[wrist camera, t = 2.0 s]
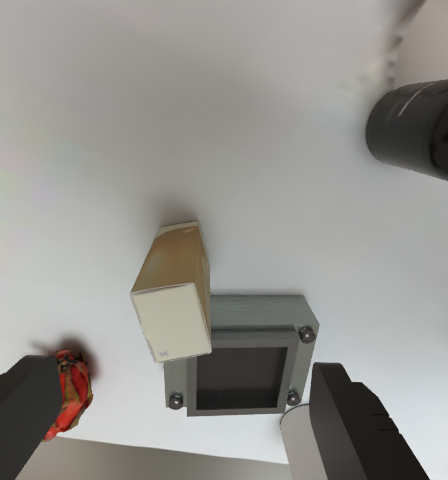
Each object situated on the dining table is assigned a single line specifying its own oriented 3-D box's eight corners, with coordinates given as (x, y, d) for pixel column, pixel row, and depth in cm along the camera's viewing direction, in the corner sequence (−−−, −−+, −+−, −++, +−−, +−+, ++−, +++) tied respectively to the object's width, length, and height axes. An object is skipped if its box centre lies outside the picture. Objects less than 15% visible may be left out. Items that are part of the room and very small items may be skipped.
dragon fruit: (52, 389, 39) (83, 319, 37) (90, 435, 36) (126, 362, 34) (-22, 425, 31) (12, 339, 29) (18, 488, 28) (60, 397, 26)
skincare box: (210, 270, 31) (214, 357, 20) (172, 277, 31) (155, 368, 20) (198, 216, 28) (195, 282, 17) (156, 224, 28) (126, 295, 17)
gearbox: (303, 295, 33) (325, 334, 27) (289, 368, 38) (304, 415, 32) (167, 295, 32) (159, 336, 26) (170, 371, 37) (164, 420, 31)
